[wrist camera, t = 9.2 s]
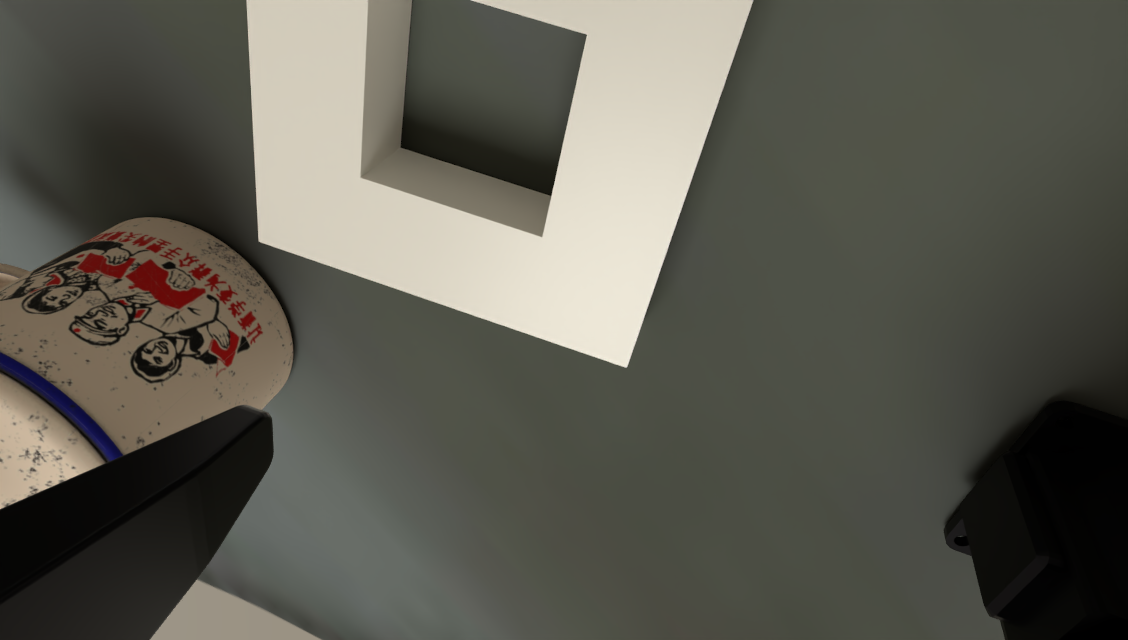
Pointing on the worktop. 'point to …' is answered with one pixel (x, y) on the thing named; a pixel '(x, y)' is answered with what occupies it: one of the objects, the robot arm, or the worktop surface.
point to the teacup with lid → (129, 348)
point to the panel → (476, 201)
